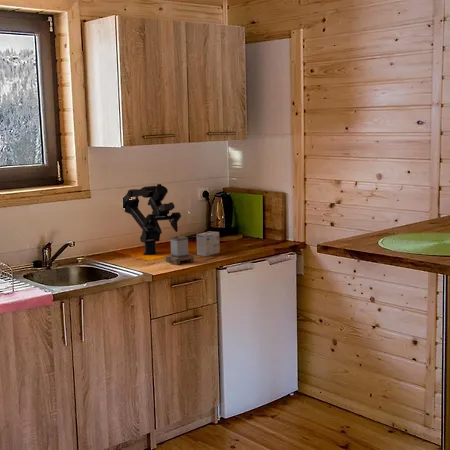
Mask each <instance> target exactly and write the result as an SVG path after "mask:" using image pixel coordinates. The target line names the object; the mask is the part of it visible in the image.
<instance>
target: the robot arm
mask: <svg viewBox="0 0 450 450" xmlns="http://www.w3.org/2000/svg"><path fill="white" fill-rule="evenodd" d="M168 193H169V192H168V188H167V187H165V186H164V185H162V183H158V184H156V185H150V186H149V185H148V186H142V187H141V188H138V189H137V188H134V189H133V188H132V189H131V188H130V189H128V191H127V192H126V194H125V195H124V196H122V199H123V208H125V211H124V212H125V213H127V214H129V215H130V216H131V217H132V218H133V219H134V221H135V222H136V224H138V226H139V227H140V229H141V230H142V231H141V235H140V237H139V239H140V242H141V243H143V244H144V252H143V253H142V254H143V255H157V254H158V250H157V245H156V243H157V242H160V239H161V234H162V233H163V231H162V228H161V227H160V224H159V221H160V222H161V221H169V223H170V226H171V227H172V229H173V231H175V233H178V231H179V229H178V221H179V220H180V219H181V217H182V215H181V213H180V212H179V211H177V212H176V211H175V212H171V214H170V211H172V210H174V209H175V203H174V202H171V201H170V202H168V203H163V202H162V201H164V199H166V196H167V194H168ZM139 197H142V198H144V199H148V201H147V206H150V208H151V210H152V211H151V213H148V214H147V215H146V217H145V216H144V214H143V213H142V211H141V210H140V209H139V205H140V204H139V203H140V199H139ZM129 199H132V200H129ZM169 214H170V215H169Z"/></svg>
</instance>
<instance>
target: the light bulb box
mask: <svg viewBox="0 0 450 450" xmlns="http://www.w3.org/2000/svg"><path fill="white" fill-rule="evenodd" d="M220 250H221V249H220V231H211V230H209V231H206V232H202V233H196V255H197V256H203V257H208V256H212V255H216V254H220V252H221V251H220Z"/></svg>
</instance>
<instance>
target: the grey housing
mask: <svg viewBox="0 0 450 450" xmlns="http://www.w3.org/2000/svg"><path fill="white" fill-rule="evenodd" d="M170 255H171V256H173V257H176V258H180V257H186V256H188V255H189V237H186V236H182V235H179V236H178V235H177V236H172V237H170Z"/></svg>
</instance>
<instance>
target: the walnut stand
mask: <svg viewBox="0 0 450 450" xmlns="http://www.w3.org/2000/svg"><path fill="white" fill-rule="evenodd" d="M164 258H165V262H166V263H169V264H172V265H174V266H180V265H181V261H184V262H187V263H190V264H192V263H195V255H191V254H188V256H186V257H180V258H176V257H173V256H171V254H169V255H165V257H164Z"/></svg>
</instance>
